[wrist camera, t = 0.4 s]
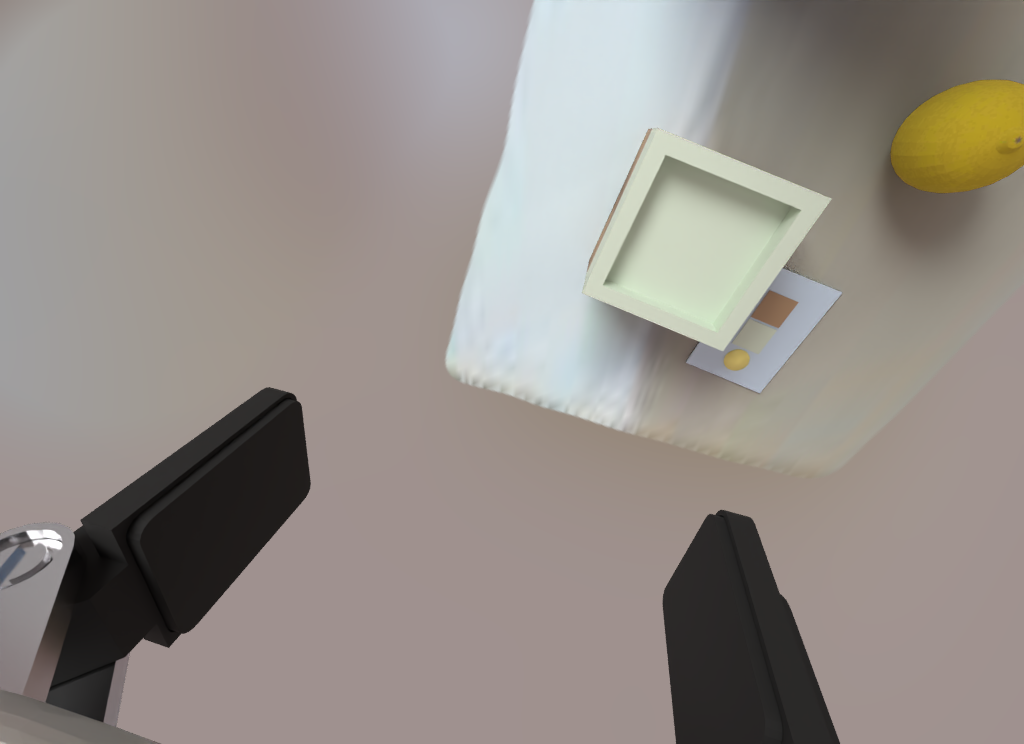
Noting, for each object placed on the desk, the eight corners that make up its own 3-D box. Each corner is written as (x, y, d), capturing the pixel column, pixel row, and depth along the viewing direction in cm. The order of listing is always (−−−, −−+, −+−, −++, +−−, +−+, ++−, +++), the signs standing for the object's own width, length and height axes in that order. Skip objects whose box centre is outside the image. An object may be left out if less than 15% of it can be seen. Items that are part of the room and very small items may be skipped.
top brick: (652, 128, 27) (658, 127, 23) (800, 189, 27) (831, 198, 23) (586, 273, 32) (582, 293, 28) (710, 324, 32) (722, 351, 28)
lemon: (955, 180, 28) (1064, 196, 21) (856, 189, 29) (929, 206, 22) (989, 79, 25) (1126, 59, 18) (879, 94, 27) (969, 81, 20)
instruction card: (755, 257, 33) (756, 257, 32) (841, 291, 32) (843, 293, 32) (685, 361, 38) (686, 363, 38) (759, 392, 38) (760, 393, 37)
